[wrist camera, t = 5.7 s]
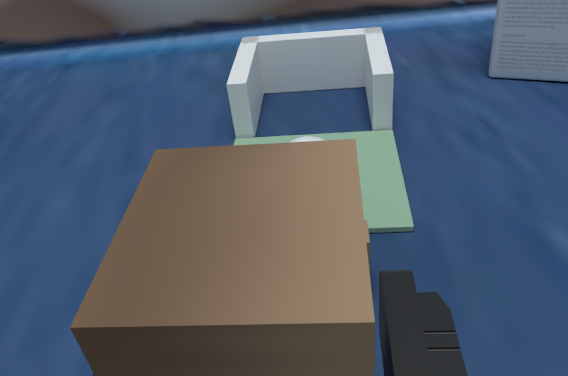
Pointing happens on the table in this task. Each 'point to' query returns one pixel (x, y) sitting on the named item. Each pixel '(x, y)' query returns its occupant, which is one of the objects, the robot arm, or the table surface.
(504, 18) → the skincare box
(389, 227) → the pale green square plate
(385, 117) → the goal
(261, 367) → the brown thin block
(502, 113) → the table surface
